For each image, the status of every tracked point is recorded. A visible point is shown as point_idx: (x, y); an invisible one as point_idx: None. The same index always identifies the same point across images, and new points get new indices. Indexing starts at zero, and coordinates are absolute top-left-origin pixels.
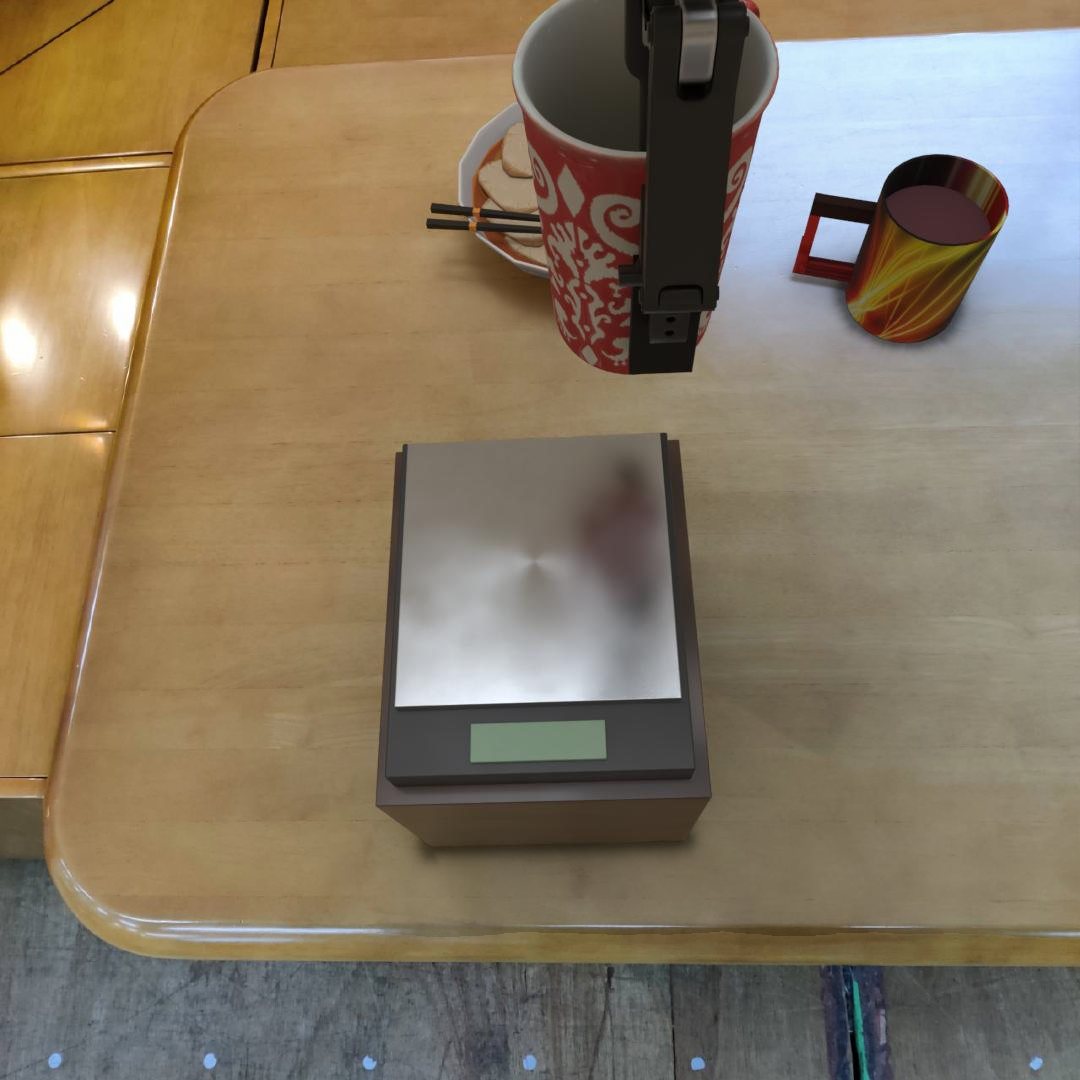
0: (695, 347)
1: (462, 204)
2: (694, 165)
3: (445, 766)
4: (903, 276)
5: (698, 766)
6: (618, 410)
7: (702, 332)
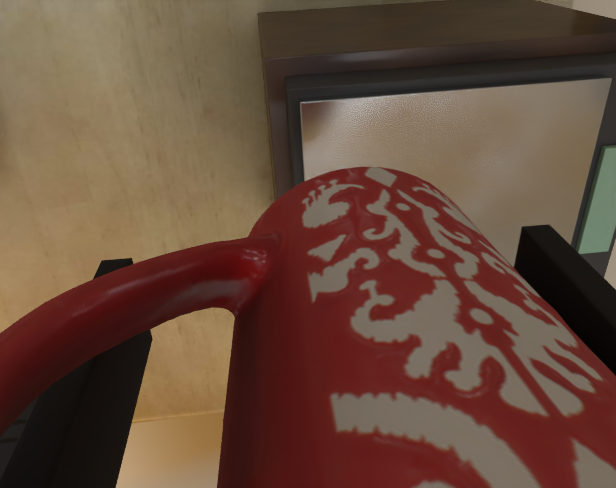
0: (584, 259)
1: None
2: None
3: (600, 265)
4: None
5: None
6: (94, 60)
7: (436, 190)
